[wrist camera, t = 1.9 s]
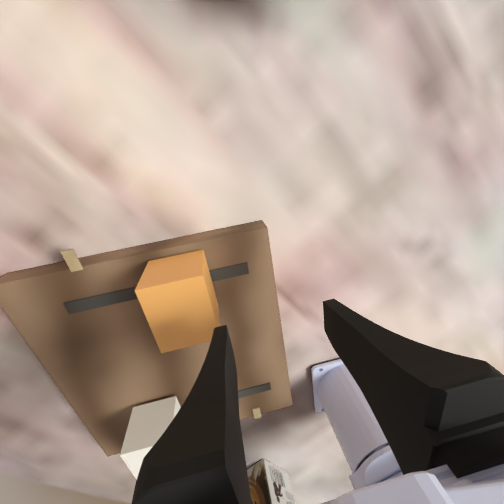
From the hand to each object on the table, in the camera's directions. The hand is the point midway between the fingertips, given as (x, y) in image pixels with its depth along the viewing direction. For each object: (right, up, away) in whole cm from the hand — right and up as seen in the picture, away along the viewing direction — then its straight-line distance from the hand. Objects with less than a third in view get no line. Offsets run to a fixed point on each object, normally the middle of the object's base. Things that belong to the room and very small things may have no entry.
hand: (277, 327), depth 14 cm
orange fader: (-7, +2, +6) cm, 9 cm away
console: (-9, -5, +11) cm, 15 cm away
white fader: (-10, -12, +11) cm, 19 cm away
